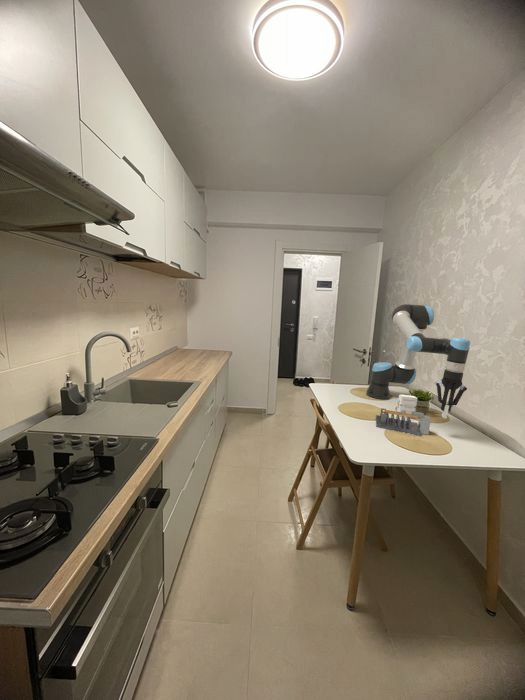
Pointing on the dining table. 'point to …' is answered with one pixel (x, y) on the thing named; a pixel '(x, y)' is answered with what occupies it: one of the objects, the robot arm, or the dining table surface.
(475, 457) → the dining table surface
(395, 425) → the heatsink
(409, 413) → the strap
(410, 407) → the ink box
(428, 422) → the block
